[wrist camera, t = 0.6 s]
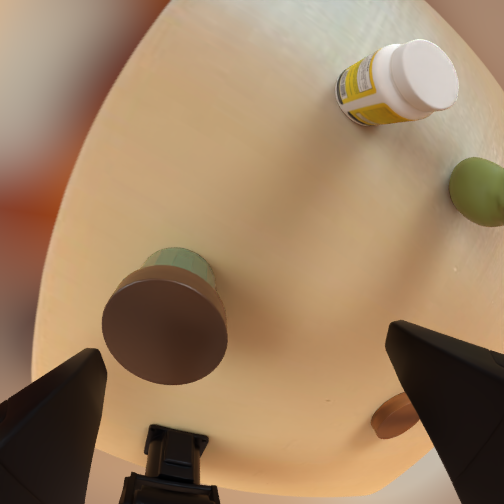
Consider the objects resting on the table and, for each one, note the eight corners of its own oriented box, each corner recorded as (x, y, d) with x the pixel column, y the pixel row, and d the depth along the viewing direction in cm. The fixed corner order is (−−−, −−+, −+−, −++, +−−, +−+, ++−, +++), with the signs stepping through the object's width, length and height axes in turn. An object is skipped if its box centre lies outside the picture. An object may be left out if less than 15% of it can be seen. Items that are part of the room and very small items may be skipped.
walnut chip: (207, 375, 18) (207, 396, 16) (106, 346, 17) (97, 364, 15) (242, 285, 17) (246, 302, 15) (122, 248, 15) (110, 260, 13)
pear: (453, 225, 23) (534, 261, 13) (428, 183, 21) (520, 207, 12) (481, 185, 22) (559, 208, 12) (459, 143, 20) (546, 152, 11)
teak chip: (397, 427, 32) (403, 437, 30) (360, 429, 30) (366, 440, 28) (427, 391, 30) (434, 400, 28) (391, 390, 28) (399, 401, 27)
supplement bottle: (398, 111, 19) (474, 101, 11) (355, 137, 19) (428, 133, 12) (367, 58, 17) (434, 25, 10) (321, 81, 18) (379, 45, 10)
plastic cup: (203, 326, 23) (201, 367, 18) (132, 305, 22) (115, 342, 17) (226, 261, 21) (229, 291, 17) (148, 237, 20) (129, 261, 15)
